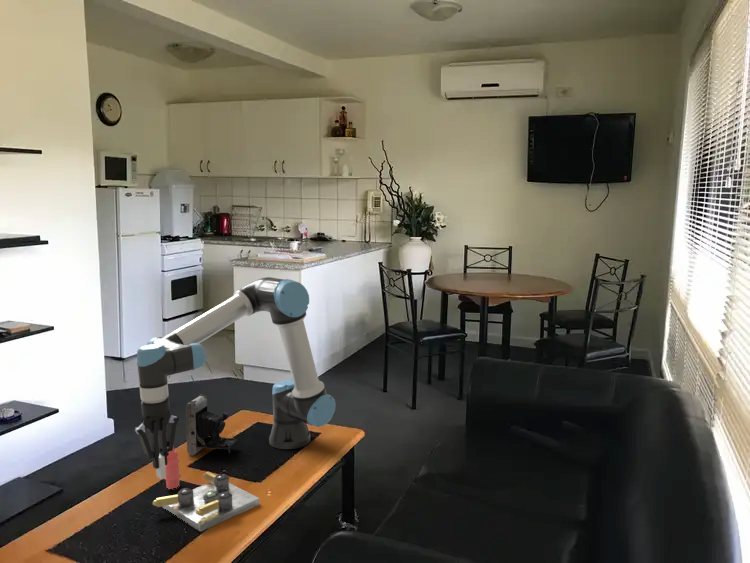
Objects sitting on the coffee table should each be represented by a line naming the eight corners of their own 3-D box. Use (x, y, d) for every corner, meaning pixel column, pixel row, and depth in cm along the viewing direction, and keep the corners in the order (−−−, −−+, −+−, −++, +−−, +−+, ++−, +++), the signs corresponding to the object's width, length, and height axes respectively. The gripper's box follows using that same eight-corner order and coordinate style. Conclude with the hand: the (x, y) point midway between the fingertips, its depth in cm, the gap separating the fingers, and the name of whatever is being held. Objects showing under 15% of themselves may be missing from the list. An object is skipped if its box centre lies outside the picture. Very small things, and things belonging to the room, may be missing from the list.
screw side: (226, 501, 182) (226, 489, 181) (235, 506, 179) (234, 493, 178) (192, 516, 173) (191, 503, 173) (201, 521, 171) (200, 508, 170)
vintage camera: (226, 460, 217) (226, 405, 214) (185, 455, 220) (185, 401, 217) (238, 449, 226) (238, 396, 224) (198, 445, 229) (198, 393, 227)
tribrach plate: (220, 484, 198) (220, 471, 197) (259, 504, 184) (258, 491, 184) (162, 507, 183) (161, 494, 182) (200, 531, 170) (199, 517, 169)
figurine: (165, 492, 193) (162, 445, 191) (162, 485, 197) (160, 440, 195) (182, 488, 195) (180, 442, 193) (179, 481, 200) (177, 437, 198)
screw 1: (193, 497, 184) (192, 485, 183) (194, 504, 180) (193, 492, 179) (152, 505, 180) (151, 492, 180) (153, 512, 176) (152, 499, 175)
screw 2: (231, 487, 190) (231, 475, 190) (219, 492, 187) (219, 480, 187) (211, 476, 198) (210, 465, 197) (198, 481, 195) (198, 470, 194)
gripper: (168, 390, 184) (174, 465, 187) (126, 402, 174) (133, 481, 178) (182, 395, 179) (188, 472, 182) (139, 408, 169) (146, 489, 173)
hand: (161, 477), depth 180 cm, fingers closed
